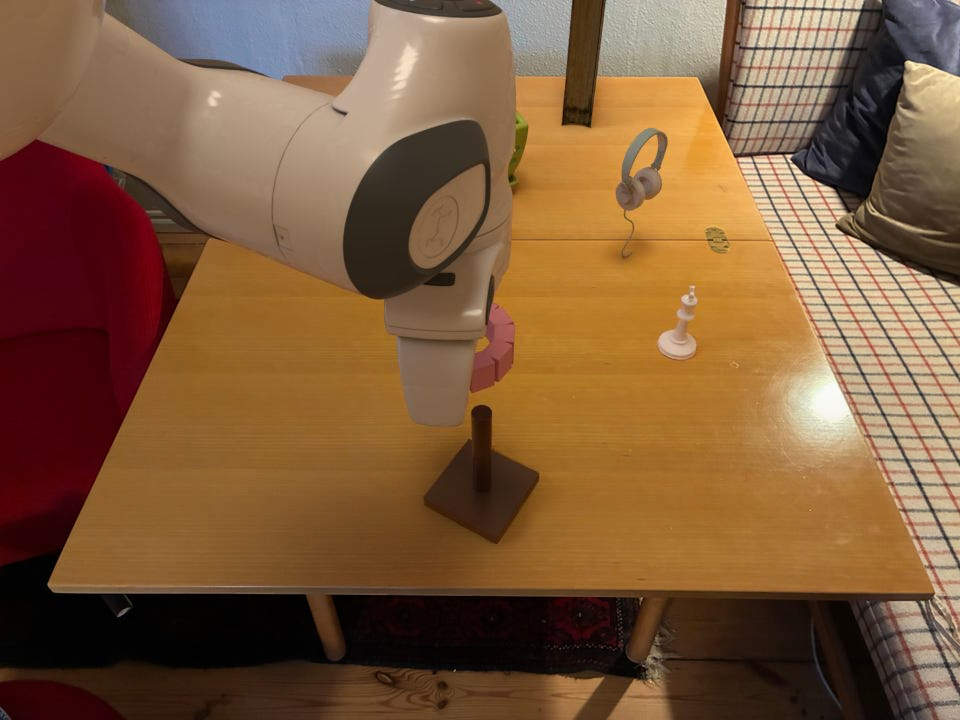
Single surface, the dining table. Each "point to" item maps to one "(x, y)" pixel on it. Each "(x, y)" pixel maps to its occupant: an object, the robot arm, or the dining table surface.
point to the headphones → (640, 175)
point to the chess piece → (680, 331)
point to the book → (582, 60)
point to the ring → (494, 351)
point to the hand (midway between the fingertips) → (454, 373)
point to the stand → (481, 483)
